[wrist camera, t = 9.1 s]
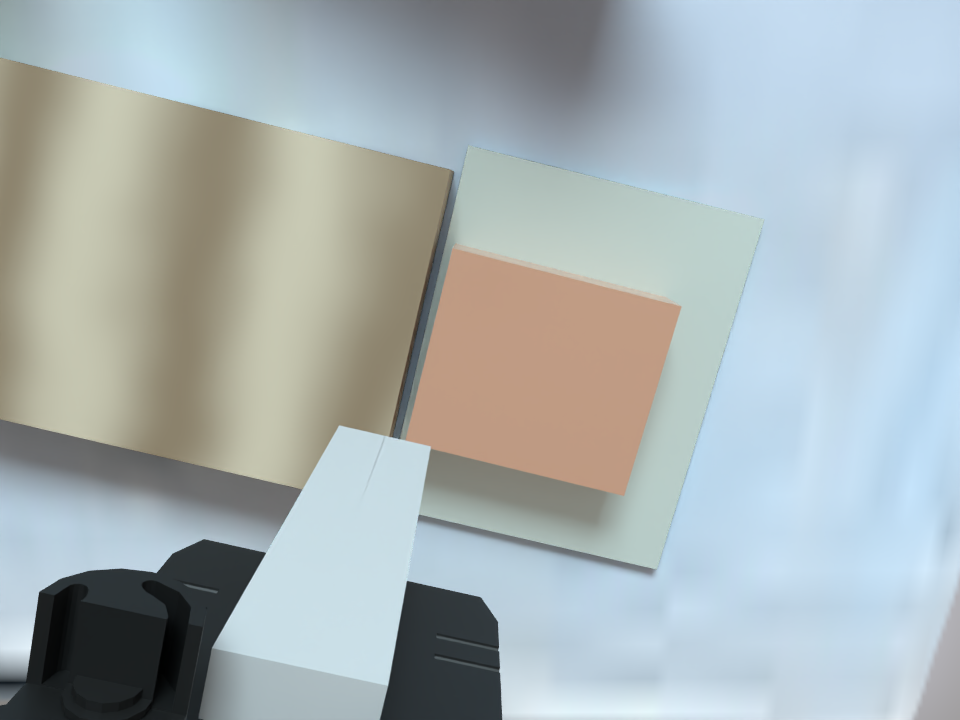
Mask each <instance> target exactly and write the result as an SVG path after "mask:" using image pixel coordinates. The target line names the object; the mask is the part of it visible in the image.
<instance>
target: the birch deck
mask: <svg viewBox="0 0 960 720" xmlns="http://www.w3.org/2000/svg"><path fill="white" fill-rule="evenodd" d="M453 174H454V171H452V170H449V169H445V168H441V167H437V166H433V165H429V164H425V163H421V162H417V161H413V160H409V159H405V158H401V157H397V156H393V155H389V154H385V153H381V152H377V151H373V150H369V149H365V148H361V147H357V146H353V145H349V144H345V143H341V142H337V141H333V140H329V139H325V138H321V137H317V136H313V135H309V134H305V133H301V132H297V131H293V130H289V129H285V128H281V127H277V126H273V125H269V124H265V123H261V122H256V121H252V120H248V119H244V118H240V117H236V116H232V115H228V114H224V113H220V112H216V111H212V110H208V109H204V108H200V107H196V106H192V105H188V104H184V103H180V102H176V101H172V100H168V99H164V98H160V97H156V96H152V95H148V94H144V93H140V92H136V91H132V90H128V89H124V88H120V87H116V86H112V85H108V84H104V83H100V82H96V81H92V80H88V79H84V78H80V77H76V76H72V75H68V74H64V73H60V72H56V71H52V70H48V69H44V68H40V67H36V66H32V65H28V64H24V63H20V62H16V61H11V60H7V59H3V58H0V419H1V420H5V421H10V422H14V423H18V424H23V425H27V426H31V427H35V428H40V429H44V430H48V431H53V432H57V433H61V434H66V435H70V436H74V437H79V438H83V439H87V440H92V441H96V442H100V443H105V444H109V445H113V446H117V447H122V448H126V449H130V450H135V451H139V452H143V453H148V454H152V455H156V456H161V457H165V458H169V459H174V460H178V461H182V462H187V463H191V464H195V465H199V466H204V467H208V468H212V469H217V470H221V471H225V472H230V473H234V474H238V475H243V476H247V477H251V478H256V479H260V480H264V481H269V482H273V483H277V484H281V485H286V486H290V487H294V488H299V489H303V488H304V486H305V484H306V483H307V481H308V479H309V477H310V476H311V474H312V472H313V470H314V469H315V467H316V465H317V463H318V462H319V460H320V458H321V456H322V455H323V453H324V451H325V449H326V448H327V446H328V444H329V442H330V441H331V439H332V437H333V435H334V434H335V432H336V430H337V428H338V427H339V425H340V426H344V427H349V428H353V429H357V430H362V431H366V432H370V433H375V434H379V435H383V436H388V437H393V433H394V429H395V424H396V420H397V416H398V411H399V407H400V403H401V398H402V394H403V390H404V385H405V381H406V377H407V372H408V368H409V364H410V359H411V355H412V351H413V347H414V342H415V338H416V334H417V329H418V325H419V321H420V316H421V312H422V308H423V303H424V299H425V295H426V290H427V286H428V282H429V277H430V273H431V269H432V264H433V260H434V256H435V251H436V247H437V243H438V239H439V234H440V230H441V226H442V221H443V217H444V213H445V208H446V204H447V200H448V195H449V191H450V187H451V182H452V178H453Z"/></svg>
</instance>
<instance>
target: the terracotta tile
mask: <svg viewBox="0 0 960 720" xmlns="http://www.w3.org/2000/svg"><path fill="white" fill-rule="evenodd" d="M681 307H682V306H680V305H678V304H677V303H675V302H673V301H672V300H670V299H669V298H667V297H664V296H660V295H656V294H652V293H648V292H644V291H640V290H636V289H632V288H629V287H625V286H621V285H617V284H613V283H609V282H605V281H601V280H597V279H593V278H589V277H585V276H582V275H578V274H574V273H570V272H566V271H562V270H558V269H554V268H550V267H546V266H542V265H538V264H535V263H531V262H527V261H523V260H519V259H515V258H511V257H507V256H503V255H499V254H495V253H491V252H488V251H484V250H480V249H476V248H472V247H468V246H464V245H460V244H456V243H455V245H454V246H453V248H452V252H451V257H450V261H449V265H448V269H447V273H446V277H445V281H444V285H443V289H442V293H441V297H440V301H439V306H438V310H437V314H436V318H435V322H434V326H433V330H432V334H431V338H430V342H429V346H428V350H427V354H426V359H425V363H424V367H423V371H422V375H421V379H420V383H419V387H418V391H417V395H416V399H415V403H414V408H413V412H412V416H411V420H410V424H409V428H408V432H407V436H406V440H405V441H409V442H414V443H418V444H423V445H427V446H431V449H434V450H438V451H442V452H446V453H450V454H454V455H458V456H462V457H467V458H471V459H475V460H479V461H483V462H487V463H491V464H495V465H499V466H503V467H507V468H512V469H516V470H520V471H524V472H528V473H532V474H536V475H540V476H544V477H548V478H552V479H557V480H561V481H565V482H569V483H573V484H577V485H581V486H585V487H589V488H593V489H597V490H602V491H606V492H610V493H614V494H618V495H622V496H624V495H625V491H626V488H627V485H628V481H629V478H630V475H631V472H632V468H633V465H634V462H635V458H636V455H637V452H638V448H639V445H640V442H641V439H642V435H643V432H644V429H645V425H646V422H647V419H648V416H649V412H650V409H651V406H652V402H653V399H654V396H655V393H656V389H657V386H658V383H659V379H660V376H661V373H662V370H663V366H664V363H665V360H666V356H667V353H668V350H669V346H670V343H671V340H672V337H673V333H674V330H675V327H676V323H677V320H678V317H679V314H680V310H681Z"/></svg>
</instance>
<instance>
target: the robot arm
mask: <svg viewBox="0 0 960 720" xmlns="http://www.w3.org/2000/svg"><path fill="white" fill-rule="evenodd" d="M430 449H431V446H427V445H423V444H418V443H414V442H409V441H405V440H401V439H396V438H392V437H388V436H383V435H379V434H375V433H370V432H366V431H362V430H357V429H353V428H349V427H344V426H340V425H339V427H338V428H337V430H336V432H335V434H334V435H333V437H332V439H331V441H330V442H329V444H328V446H327V448H326V449H325V451H324V453H323V455H322V456H321V458H320V460H319V462H318V463H317V465H316V467H315V469H314V470H313V472H312V474H311V476H310V477H309V479H308V481H307V483H306V484H305V486H304V488H303V490H302V491H301V493H300V495H299V497H298V498H297V500H296V502H295V504H294V505H293V507H292V509H291V511H290V512H289V514H288V516H287V518H286V519H285V521H284V523H283V525H282V526H281V528H280V530H279V532H278V533H277V535H276V537H275V539H274V540H273V542H272V544H271V546H270V547H269V549H268V551H267V553H264V552H259V551H255V550H250V549H246V548H241V547H237V546H232V545H228V544H223V543H219V542H214V541H210V540H205V539H204V540H201V541H199V542H197V543H195V544H193V545H191V546H188V547H186V548H184V549H182V550H180V551H177V552H175V553H173V554H172V555H171V556H170V558H169V559H168V560H167V561H166V562H165V564H164V565H163V566H162V567H161V569H160V570H159V571H158V572H157V573H153V572H146V571H138V570H129V569H109V570H94V571H87V572H83V573H80V574H76V575H73V576H69V577H65V578H62V579H60V580H58V581H56V582H55V583H53V584H51V585H50V586H48V587H47V588H45V589H43V590H42V591H40V592H39V597H38V604H37V611H36V618H35V625H34V632H33V639H32V646H31V652H30V659H29V666H28V673H27V680H26V683H25V684H24V686H23V687H22V688H21V689H20V690H19V691H18V692H17V693H16V694H15V696H14V697H13V698H12V699H11V700H10V701H9V702H8V703H7V704H6V705H1V706H0V720H502V706H501V683H500V673H499V669H500V661H499V651H498V648H499V638H498V621H497V620H496V619H495V617H494V616H493V614H492V613H491V611H490V610H489V608H488V607H487V606H486V604H485V603H484V601H483V600H482V598H481V597H477V596H473V595H468V594H463V593H459V592H454V591H450V590H445V589H441V588H436V587H432V586H427V585H423V584H418V583H414V582H409V581H407V577H408V571H409V566H410V560H411V555H412V549H413V544H414V538H415V532H416V527H417V521H418V516H419V510H420V504H421V499H422V493H423V488H424V482H425V477H426V471H427V465H428V460H429V454H430Z"/></svg>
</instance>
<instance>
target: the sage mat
mask: <svg viewBox="0 0 960 720" xmlns="http://www.w3.org/2000/svg"><path fill="white" fill-rule="evenodd" d="M763 223H764V219H760V218H756V217H752V216H748V215H744V214H740V213H736V212H732V211H728V210H724V209H720V208H716V207H712V206H708V205H704V204H700V203H696V202H692V201H688V200H684V199H680V198H676V197H672V196H668V195H664V194H660V193H656V192H652V191H648V190H644V189H640V188H636V187H632V186H628V185H624V184H620V183H616V182H612V181H608V180H604V179H600V178H597V177H593V176H589V175H585V174H581V173H577V172H573V171H569V170H565V169H561V168H557V167H553V166H549V165H545V164H541V163H537V162H533V161H529V160H525V159H521V158H517V157H513V156H509V155H505V154H501V153H497V152H493V151H489V150H485V149H481V148H477V147H473V146H469V145H468V149H467V153H466V157H465V162H464V166H463V170H462V174H461V179H460V183H459V187H458V191H457V196H456V200H455V204H454V209H453V213H452V217H451V221H450V226H449V230H448V234H447V239H446V243H445V247H444V251H443V256H442V260H441V264H440V269H439V273H438V277H437V281H436V286H435V290H434V294H433V299H432V303H431V307H430V311H429V316H428V320H427V324H426V329H425V333H424V337H423V341H422V346H421V350H420V354H419V359H418V363H417V367H416V371H415V376H414V380H413V384H412V389H411V393H410V397H409V401H408V406H407V410H406V414H405V419H404V423H403V427H402V431H401V436H400V439H401V440H406V436H407V432H408V428H409V424H410V420H411V416H412V412H413V408H414V403H415V399H416V395H417V391H418V387H419V383H420V379H421V375H422V371H423V367H424V363H425V359H426V354H427V350H428V346H429V342H430V338H431V334H432V330H433V326H434V322H435V318H436V314H437V310H438V306H439V301H440V297H441V293H442V289H443V285H444V281H445V277H446V273H447V269H448V265H449V261H450V257H451V252H452V248H453V246H454V245H455V243H456V244H460V245H464V246H468V247H472V248H476V249H480V250H484V251H488V252H491V253H495V254H499V255H503V256H507V257H511V258H515V259H519V260H523V261H527V262H531V263H535V264H538V265H542V266H546V267H550V268H554V269H558V270H562V271H566V272H570V273H574V274H578V275H582V276H585V277H589V278H593V279H597V280H601V281H605V282H609V283H613V284H617V285H621V286H625V287H629V288H632V289H636V290H640V291H644V292H648V293H652V294H656V295H660V296H664V297H667V298H669V299H670V300H672V301H673V302H675V303H677V304H678V305H680V306H682V307H681V310H680V314H679V317H678V320H677V323H676V327H675V330H674V333H673V337H672V340H671V343H670V346H669V350H668V353H667V356H666V360H665V363H664V366H663V370H662V373H661V376H660V379H659V383H658V386H657V389H656V393H655V396H654V399H653V402H652V406H651V409H650V412H649V416H648V419H647V422H646V425H645V429H644V432H643V435H642V439H641V442H640V445H639V448H638V452H637V455H636V458H635V462H634V465H633V468H632V472H631V475H630V478H629V481H628V485H627V488H626V491H625V495H624V496H622V495H618V494H614V493H610V492H606V491H602V490H597V489H593V488H589V487H585V486H581V485H577V484H573V483H569V482H565V481H561V480H557V479H552V478H548V477H544V476H540V475H536V474H532V473H528V472H524V471H520V470H516V469H512V468H507V467H503V466H499V465H495V464H491V463H487V462H483V461H479V460H475V459H471V458H467V457H462V456H458V455H454V454H450V453H446V452H442V451H438V450H434V449H430V454H429V460H428V465H427V471H426V477H425V482H424V488H423V493H422V499H421V504H420V510H419V515H423V516H428V517H432V518H436V519H441V520H445V521H449V522H454V523H458V524H462V525H467V526H471V527H475V528H480V529H484V530H488V531H492V532H497V533H501V534H505V535H510V536H514V537H518V538H523V539H527V540H531V541H536V542H540V543H544V544H549V545H553V546H557V547H561V548H566V549H570V550H574V551H579V552H583V553H587V554H592V555H596V556H600V557H605V558H609V559H613V560H618V561H622V562H626V563H631V564H635V565H639V566H643V567H648V568H652V569H656V570H657V567H658V564H659V561H660V557H661V554H662V551H663V548H664V544H665V541H666V538H667V535H668V531H669V528H670V525H671V522H672V518H673V515H674V512H675V509H676V505H677V502H678V499H679V496H680V492H681V489H682V486H683V483H684V479H685V476H686V473H687V470H688V466H689V463H690V460H691V457H692V453H693V450H694V447H695V444H696V440H697V437H698V434H699V431H700V427H701V424H702V421H703V418H704V414H705V411H706V408H707V405H708V401H709V398H710V395H711V392H712V388H713V385H714V382H715V379H716V375H717V372H718V369H719V366H720V362H721V359H722V356H723V353H724V349H725V346H726V343H727V340H728V336H729V333H730V330H731V327H732V323H733V320H734V317H735V314H736V310H737V307H738V304H739V301H740V297H741V294H742V291H743V288H744V284H745V281H746V278H747V275H748V271H749V268H750V265H751V262H752V258H753V255H754V252H755V249H756V245H757V242H758V239H759V236H760V232H761V229H762V226H763Z"/></svg>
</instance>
